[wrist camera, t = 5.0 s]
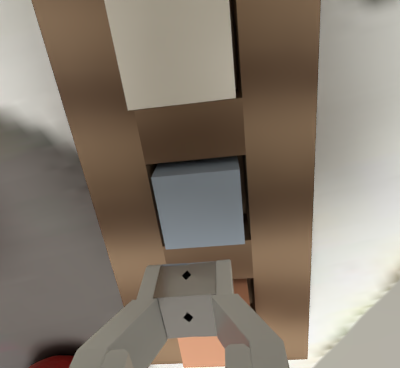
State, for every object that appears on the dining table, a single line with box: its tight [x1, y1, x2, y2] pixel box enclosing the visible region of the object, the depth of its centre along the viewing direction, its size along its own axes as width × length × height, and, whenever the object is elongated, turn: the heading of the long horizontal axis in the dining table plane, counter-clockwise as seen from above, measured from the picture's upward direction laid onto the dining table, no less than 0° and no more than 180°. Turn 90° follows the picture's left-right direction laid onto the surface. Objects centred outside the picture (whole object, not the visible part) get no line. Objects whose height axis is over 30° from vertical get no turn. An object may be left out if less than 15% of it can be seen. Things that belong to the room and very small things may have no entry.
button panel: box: [32, 0, 321, 364], centre depth 18 cm, size 26×12×4 cm, turn 7°
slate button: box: [151, 156, 245, 250], centre depth 17 cm, size 4×4×4 cm
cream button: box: [104, 0, 236, 111], centre depth 13 cm, size 4×4×4 cm
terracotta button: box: [177, 279, 250, 368], centre depth 19 cm, size 4×4×4 cm
